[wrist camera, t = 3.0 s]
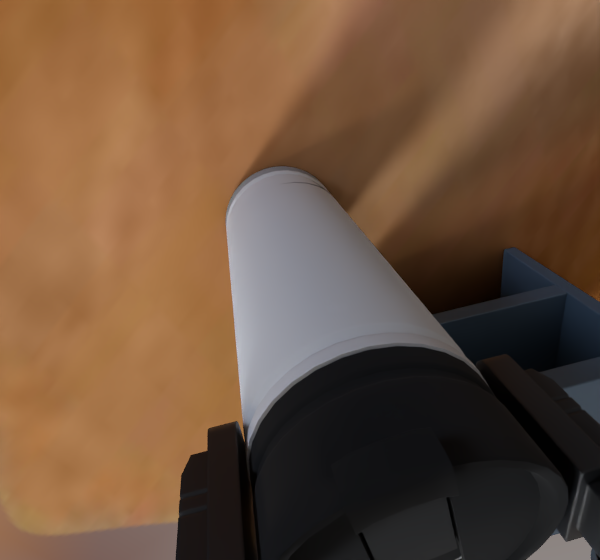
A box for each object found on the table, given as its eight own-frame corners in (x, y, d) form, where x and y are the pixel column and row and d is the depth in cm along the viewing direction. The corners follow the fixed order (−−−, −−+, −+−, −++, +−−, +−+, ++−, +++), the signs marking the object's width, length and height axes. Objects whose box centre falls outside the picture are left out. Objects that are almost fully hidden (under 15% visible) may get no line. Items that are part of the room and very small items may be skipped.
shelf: (340, 287, 28) (417, 426, 18) (514, 246, 29) (685, 356, 19) (356, 410, 33) (423, 573, 23) (503, 372, 34) (631, 512, 24)
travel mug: (313, 142, 24) (602, 399, 6) (345, 246, 27) (593, 609, 9) (204, 183, 24) (187, 559, 6) (249, 283, 27) (321, 714, 9)
